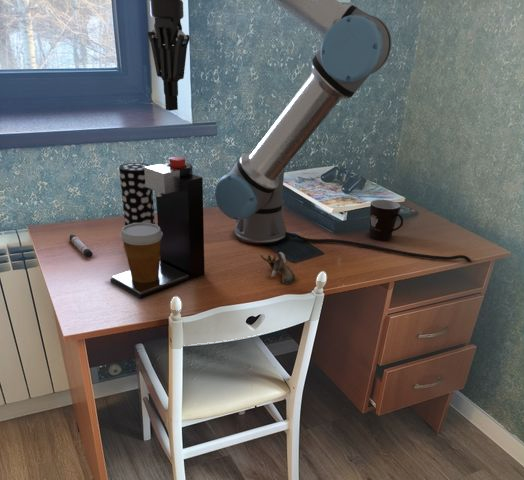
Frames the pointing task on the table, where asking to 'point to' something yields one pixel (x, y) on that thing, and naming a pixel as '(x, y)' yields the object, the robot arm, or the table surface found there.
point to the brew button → (177, 162)
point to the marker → (80, 246)
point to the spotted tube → (136, 194)
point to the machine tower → (183, 225)
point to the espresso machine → (169, 277)
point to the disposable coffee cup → (142, 250)
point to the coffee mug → (383, 219)
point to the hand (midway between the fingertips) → (171, 109)
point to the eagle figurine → (280, 268)
